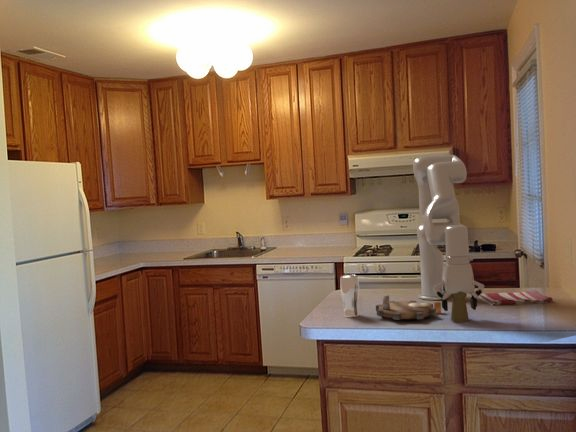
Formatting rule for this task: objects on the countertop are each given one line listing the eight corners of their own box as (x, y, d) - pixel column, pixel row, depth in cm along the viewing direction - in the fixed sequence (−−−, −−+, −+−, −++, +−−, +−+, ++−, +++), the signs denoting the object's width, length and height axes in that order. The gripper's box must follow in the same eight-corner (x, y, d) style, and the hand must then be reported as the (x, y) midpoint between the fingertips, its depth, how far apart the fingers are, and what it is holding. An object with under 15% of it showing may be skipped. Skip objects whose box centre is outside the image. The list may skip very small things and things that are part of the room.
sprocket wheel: (416, 303, 196) (415, 285, 196) (448, 315, 175) (447, 295, 175) (365, 309, 190) (364, 291, 190) (392, 322, 169) (391, 302, 169)
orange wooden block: (424, 307, 193) (423, 297, 193) (444, 314, 182) (444, 303, 182) (382, 314, 186) (381, 304, 186) (401, 321, 175) (400, 310, 175)
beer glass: (355, 318, 183) (353, 278, 182) (338, 316, 187) (336, 277, 186) (363, 314, 189) (361, 274, 188) (346, 312, 193) (344, 274, 192)
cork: (469, 318, 175) (468, 287, 174) (468, 322, 169) (466, 290, 169) (451, 317, 177) (450, 286, 177) (449, 321, 172) (448, 289, 172)
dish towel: (554, 304, 190) (554, 297, 190) (492, 307, 191) (492, 300, 191) (533, 295, 207) (533, 288, 207) (477, 297, 208) (476, 291, 208)
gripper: (479, 258, 176) (481, 306, 176) (429, 260, 177) (431, 308, 177) (486, 260, 168) (488, 311, 169) (434, 263, 169) (437, 313, 170)
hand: (459, 309), depth 173 cm, fingers open, 9 cm apart
